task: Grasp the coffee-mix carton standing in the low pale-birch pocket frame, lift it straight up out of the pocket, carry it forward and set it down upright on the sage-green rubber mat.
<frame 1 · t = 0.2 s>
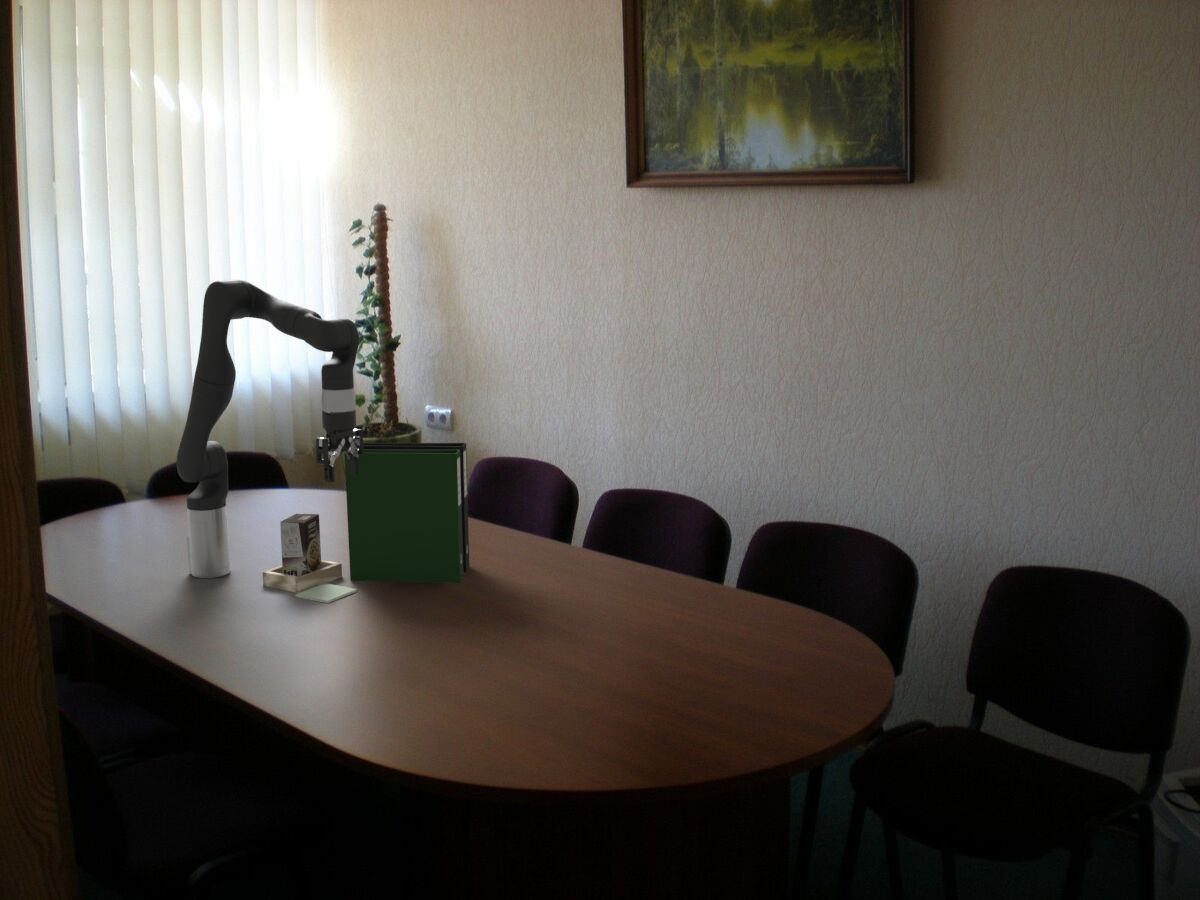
hand: (341, 478, 270), 29 cm above the table, fingers open, 8 cm apart
coffee box: (303, 582, 289), resting in pocket frame
pocket frame: (303, 581, 289), on the table
binder: (411, 574, 295), on the table
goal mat: (326, 594, 279), on the table
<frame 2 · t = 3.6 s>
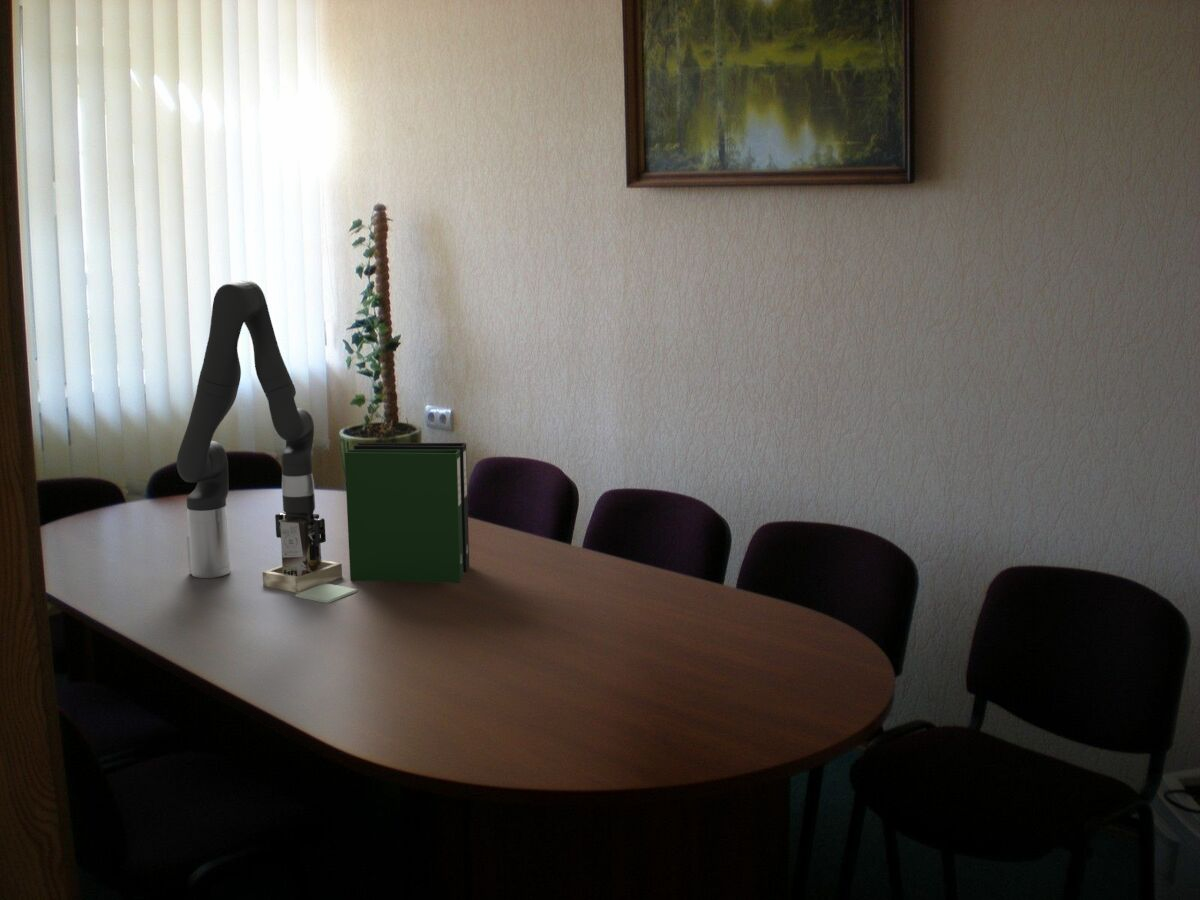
hand: (301, 557, 288), 6 cm above the table, fingers closed on coffee box, 7 cm apart
coffee box: (303, 582, 289), resting in pocket frame, touching gripper
everything else where it was.
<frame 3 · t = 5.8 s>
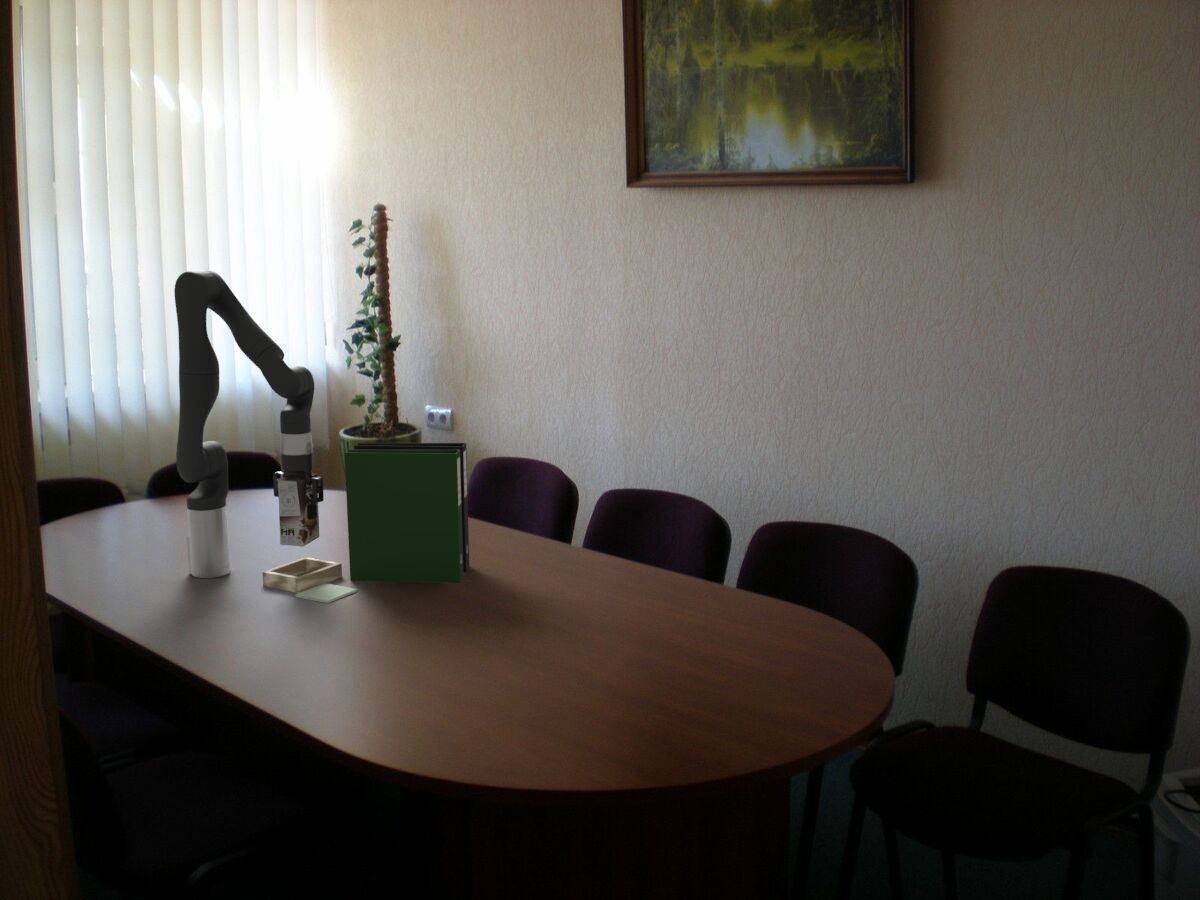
hand: (299, 516, 286), 16 cm above the table, fingers closed on coffee box, 7 cm apart
coffee box: (300, 541, 287), point 10 cm above the table, touching gripper
everything else where it was.
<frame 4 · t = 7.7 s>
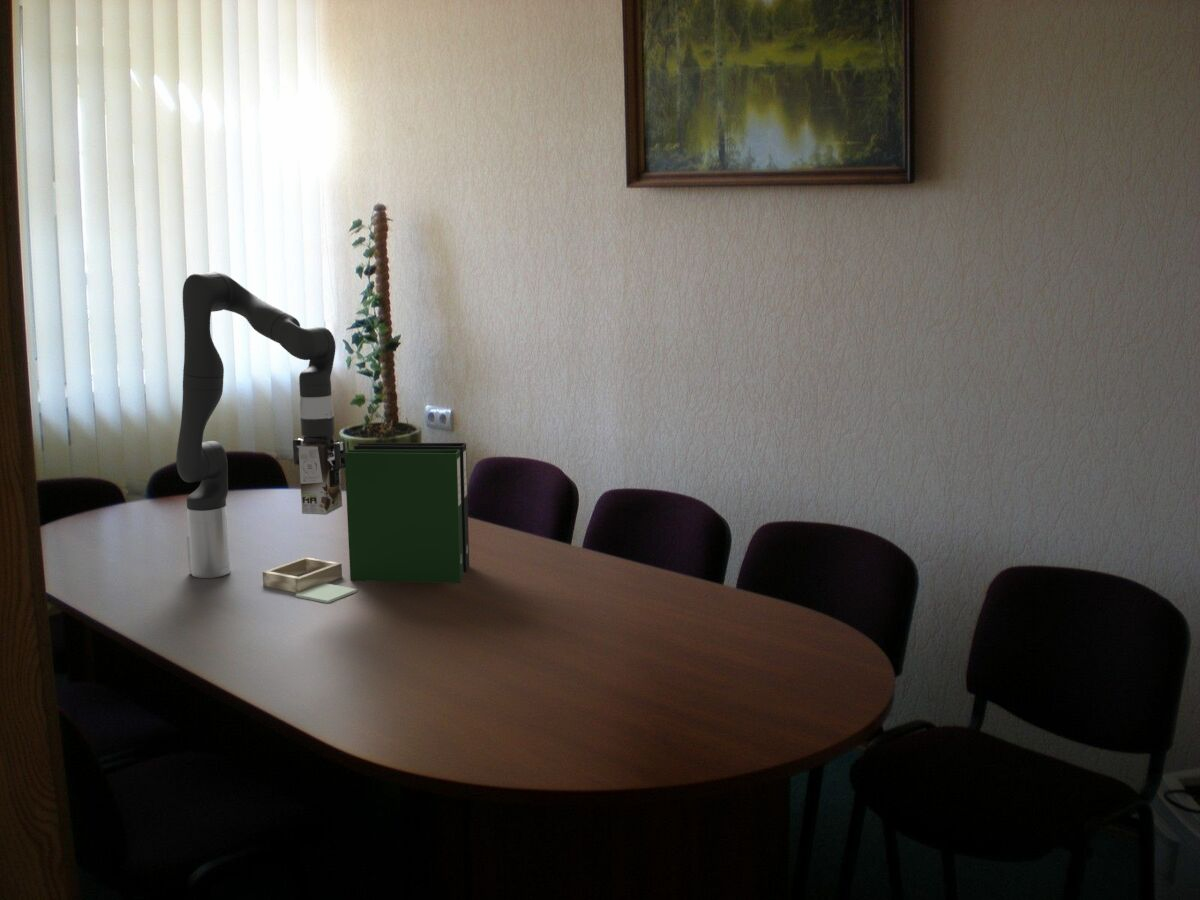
hand: (321, 484, 274), 26 cm above the table, fingers closed on coffee box, 7 cm apart
coffee box: (322, 511, 275), point 20 cm above the table, touching gripper
everything else where it was.
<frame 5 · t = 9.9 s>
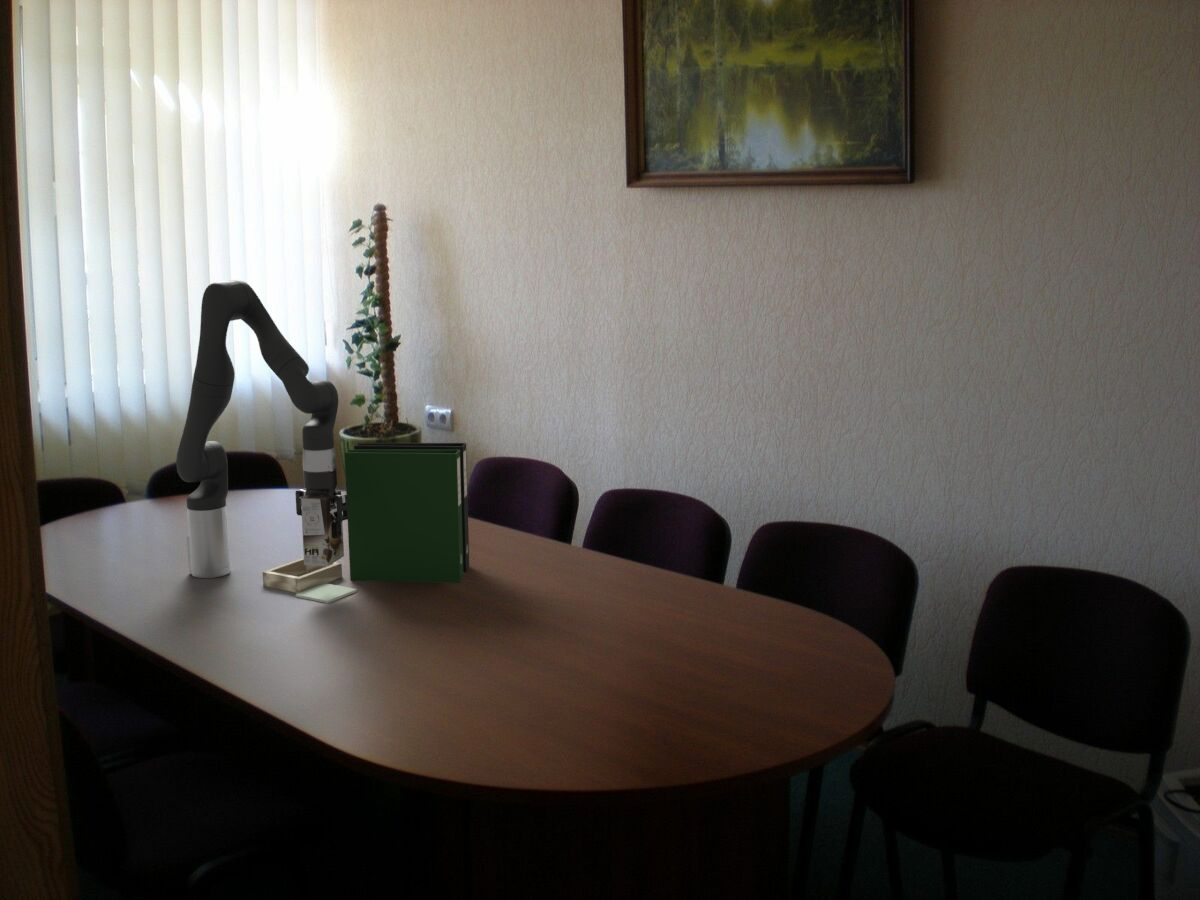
hand: (323, 535, 276), 14 cm above the table, fingers closed on coffee box, 7 cm apart
coffee box: (324, 561, 278), point 8 cm above the table, touching gripper
everything else where it was.
when the fingers open (8 cm above the table, at t = 11.9 s): coffee box drops 1 cm, resting on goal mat.
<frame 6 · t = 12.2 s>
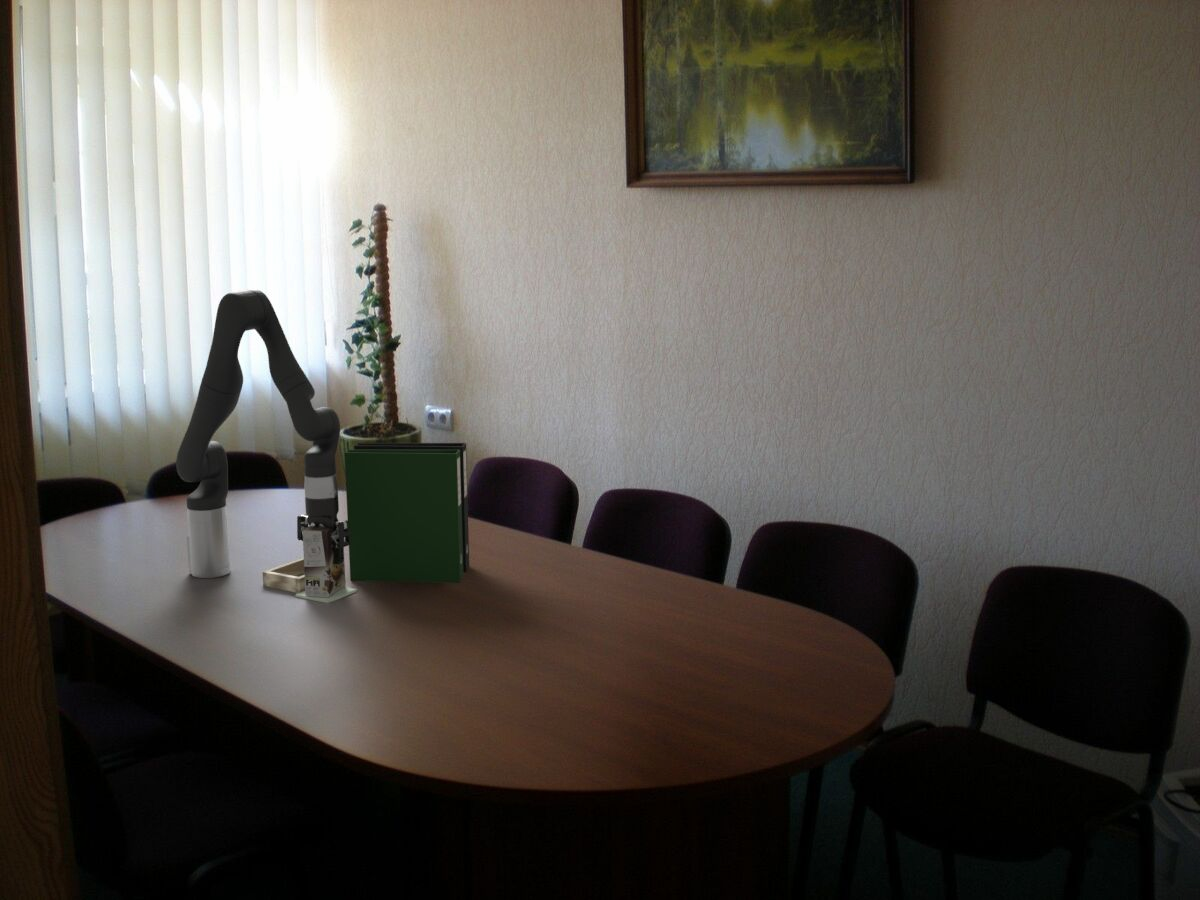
hand: (324, 561, 277), 8 cm above the table, fingers open, 8 cm apart
coffee box: (326, 592, 279), resting on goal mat
everything else where it was.
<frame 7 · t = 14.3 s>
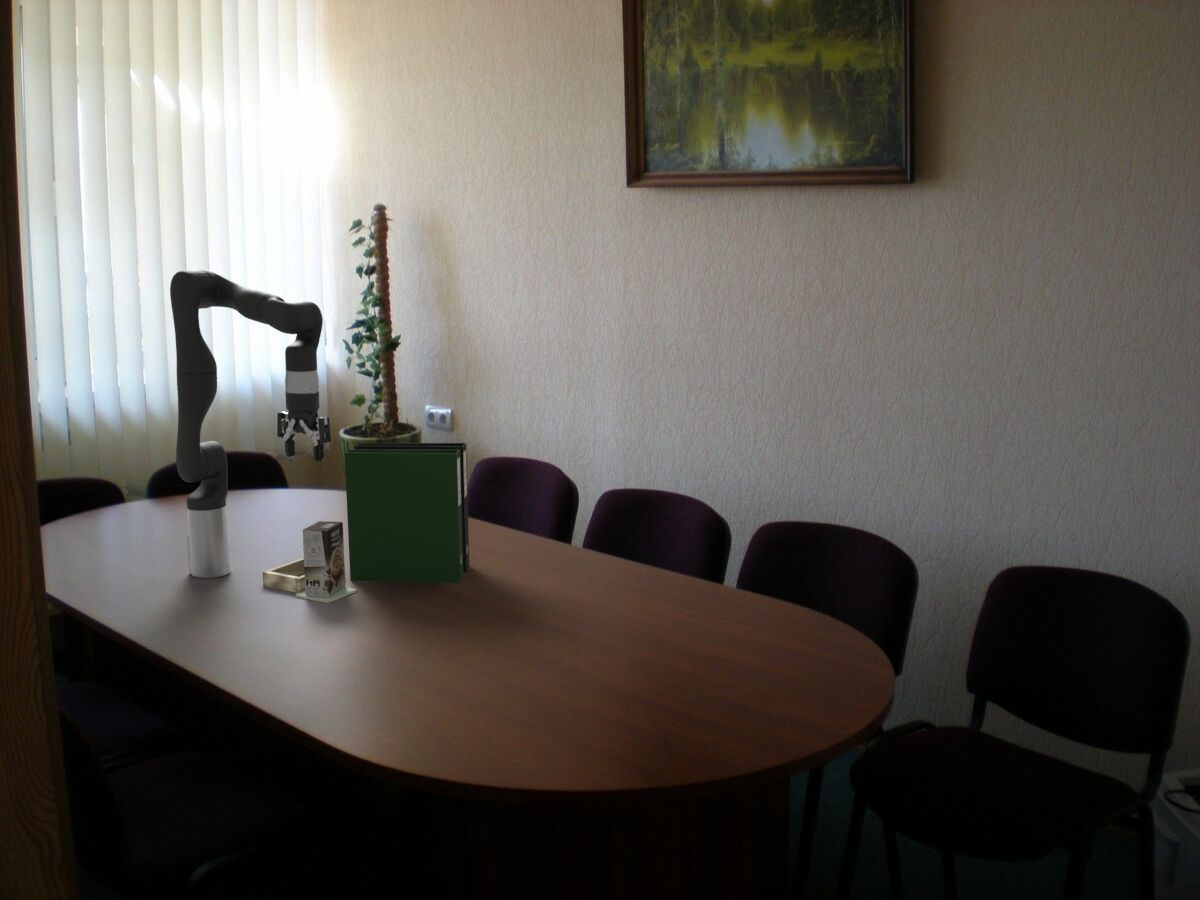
hand: (304, 458, 275), 32 cm above the table, fingers open, 8 cm apart
nothing on the table moved.
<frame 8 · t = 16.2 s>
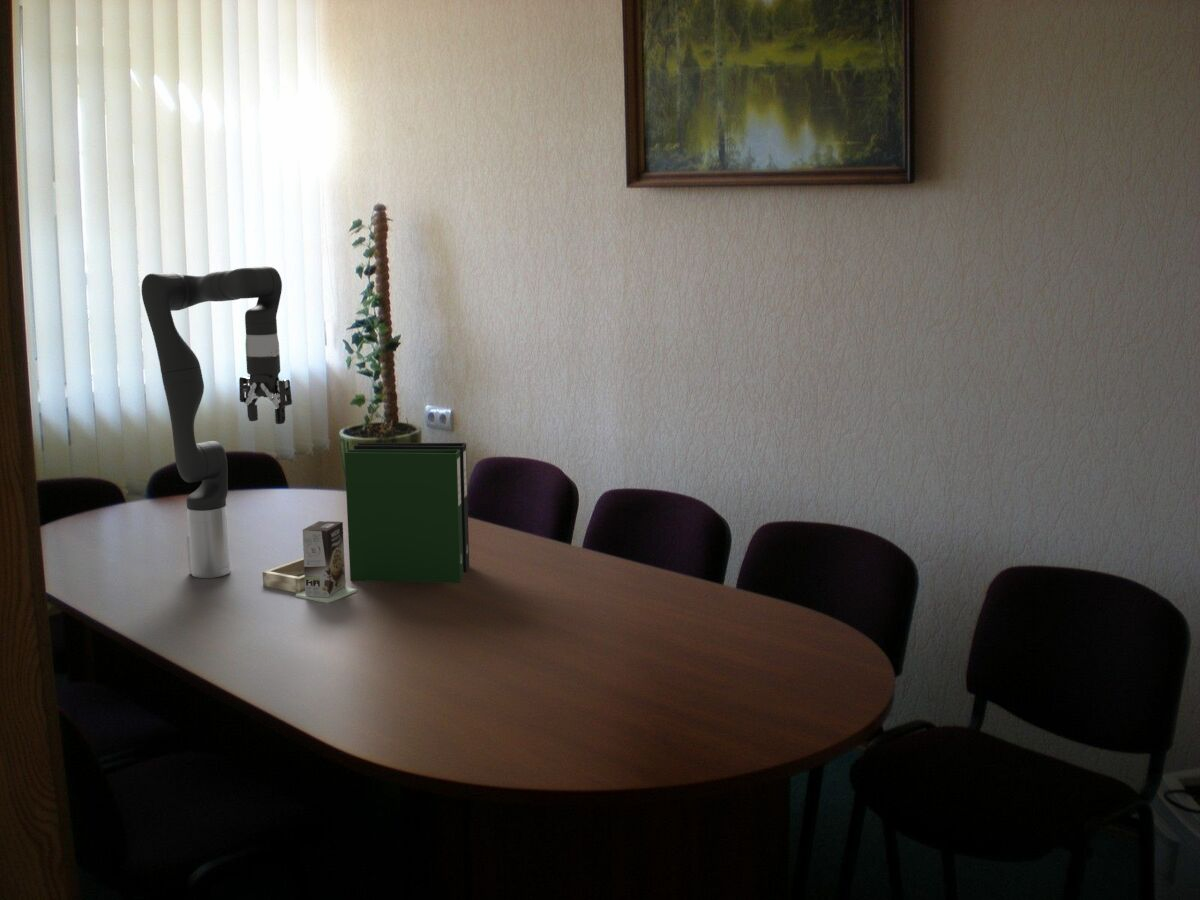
hand: (266, 422, 278), 40 cm above the table, fingers open, 8 cm apart
nothing on the table moved.
at the end: coffee box inside the target area on the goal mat (0.1 cm from its centre), point 0.4 cm above the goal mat's base; coffee box tilted 0°; the gripper is holding nothing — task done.
